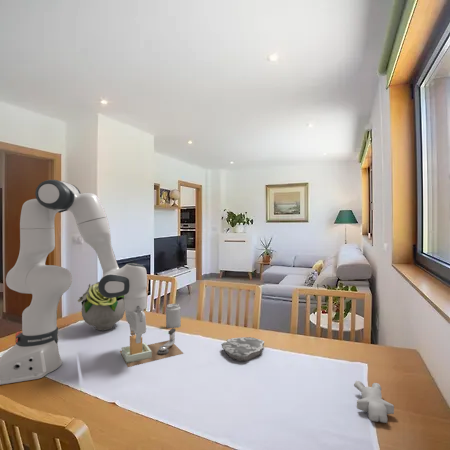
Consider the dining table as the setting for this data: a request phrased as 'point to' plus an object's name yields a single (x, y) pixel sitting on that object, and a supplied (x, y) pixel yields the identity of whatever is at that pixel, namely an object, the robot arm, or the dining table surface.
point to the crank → (170, 342)
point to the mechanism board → (157, 353)
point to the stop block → (135, 346)
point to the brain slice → (243, 348)
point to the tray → (136, 357)
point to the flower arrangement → (101, 308)
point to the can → (173, 316)
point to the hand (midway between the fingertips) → (135, 338)
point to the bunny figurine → (373, 402)
